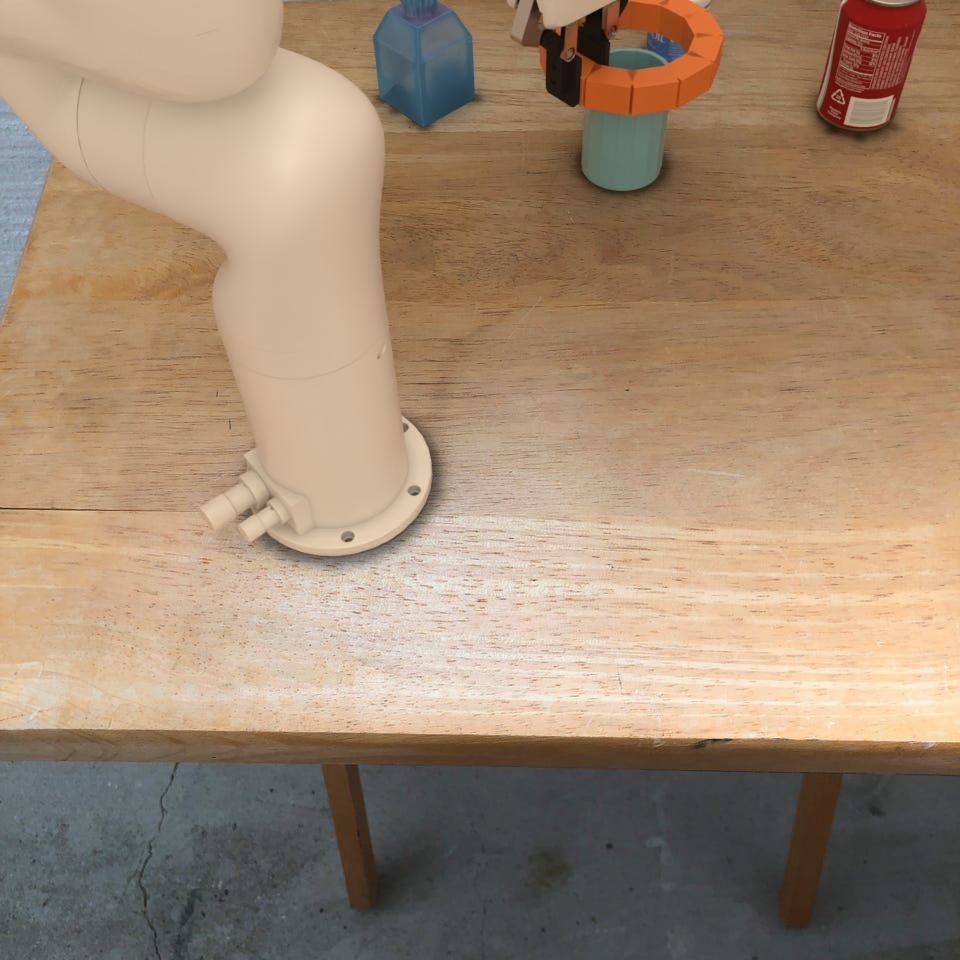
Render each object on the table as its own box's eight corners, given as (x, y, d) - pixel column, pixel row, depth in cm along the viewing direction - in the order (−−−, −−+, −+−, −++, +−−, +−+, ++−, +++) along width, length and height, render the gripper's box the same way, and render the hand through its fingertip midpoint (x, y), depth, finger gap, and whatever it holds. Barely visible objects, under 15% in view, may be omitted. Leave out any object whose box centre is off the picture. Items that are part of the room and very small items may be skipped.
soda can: (893, 141, 95) (935, 11, 85) (813, 134, 96) (845, 4, 86) (892, 95, 99) (931, -35, 89) (815, 88, 100) (846, -41, 90)
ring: (630, 137, 80) (632, 108, 78) (506, 60, 87) (506, 32, 85) (753, 64, 85) (758, 35, 84) (628, -4, 92) (630, -32, 90)
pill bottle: (638, 45, 105) (647, -56, 97) (692, 37, 105) (706, -64, 98) (653, 77, 102) (664, -24, 94) (710, 69, 102) (725, -32, 94)
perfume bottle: (380, 98, 101) (364, -28, 92) (430, 70, 104) (421, -55, 94) (423, 127, 98) (412, 0, 89) (474, 98, 101) (469, -29, 91)
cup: (621, 202, 91) (629, 108, 84) (564, 164, 95) (568, 70, 87) (677, 166, 94) (690, 72, 87) (620, 131, 97) (628, 37, 90)
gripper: (634, -223, 74) (615, 31, 89) (452, -146, 68) (464, 112, 83) (718, -188, 71) (684, 70, 85) (534, -105, 65) (531, 157, 79)
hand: (576, 89), depth 84 cm, fingers closed on ring, 2 cm apart
